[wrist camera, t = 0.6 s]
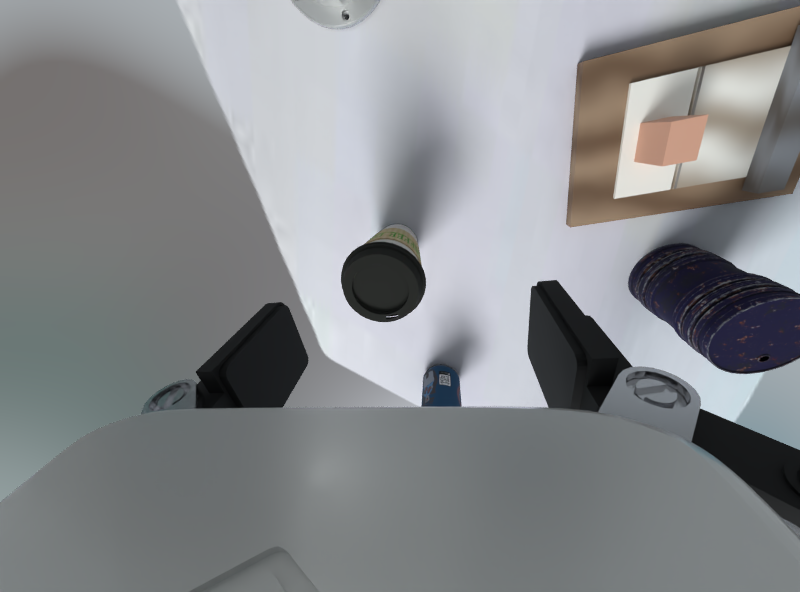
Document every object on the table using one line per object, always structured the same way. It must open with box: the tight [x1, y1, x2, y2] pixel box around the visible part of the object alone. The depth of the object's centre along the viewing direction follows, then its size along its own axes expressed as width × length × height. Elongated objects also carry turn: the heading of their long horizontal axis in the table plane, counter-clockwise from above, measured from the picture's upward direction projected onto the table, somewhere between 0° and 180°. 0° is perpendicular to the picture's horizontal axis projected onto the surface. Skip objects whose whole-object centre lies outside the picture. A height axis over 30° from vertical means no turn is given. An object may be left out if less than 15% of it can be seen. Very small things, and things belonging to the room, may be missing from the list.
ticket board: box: [566, 6, 800, 227], centre depth 32 cm, size 18×24×4 cm
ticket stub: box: [613, 68, 709, 199], centre depth 31 cm, size 12×6×5 cm, turn 12°
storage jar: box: [628, 243, 800, 374], centre depth 36 cm, size 10×10×15 cm
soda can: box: [422, 365, 461, 407], centre depth 52 cm, size 7×7×12 cm
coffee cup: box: [341, 224, 426, 322], centre depth 38 cm, size 10×10×15 cm
